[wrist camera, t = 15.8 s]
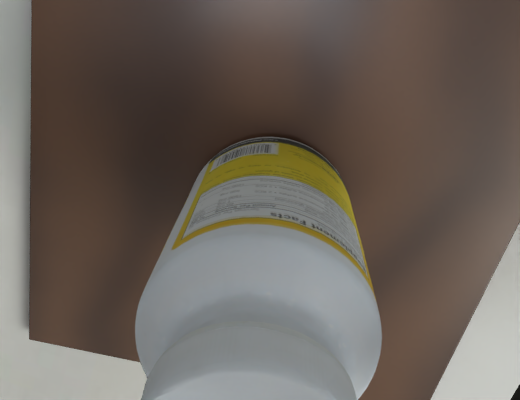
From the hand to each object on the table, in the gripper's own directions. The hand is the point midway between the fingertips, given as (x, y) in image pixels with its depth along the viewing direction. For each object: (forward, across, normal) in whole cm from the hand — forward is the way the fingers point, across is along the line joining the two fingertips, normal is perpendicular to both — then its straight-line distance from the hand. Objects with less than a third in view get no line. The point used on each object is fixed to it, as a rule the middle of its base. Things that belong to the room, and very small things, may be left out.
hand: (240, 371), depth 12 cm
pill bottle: (+10, 0, 0) cm, 10 cm away
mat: (+10, 0, 0) cm, 10 cm away
